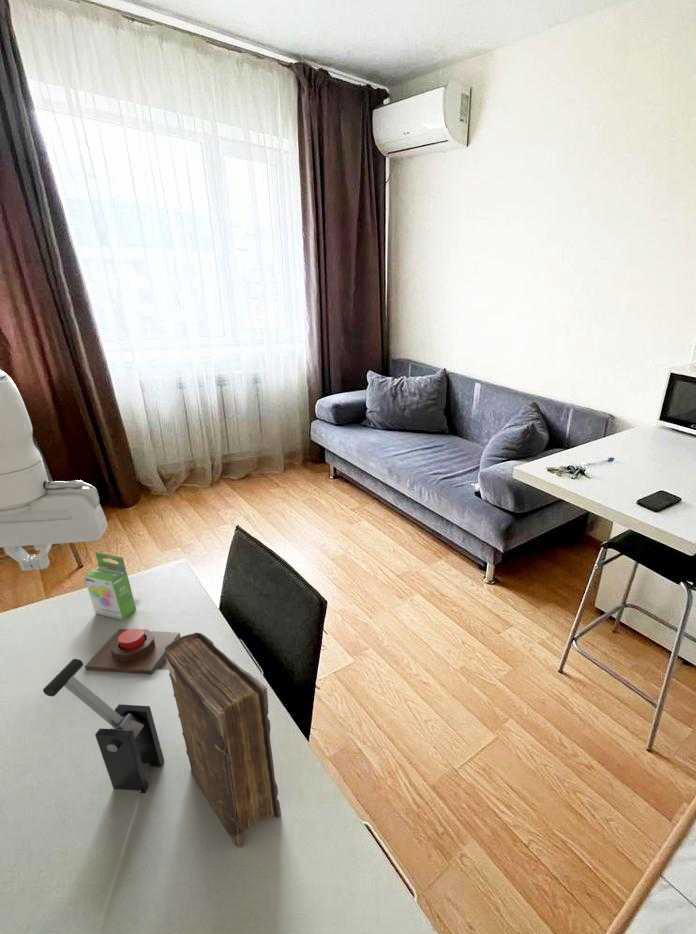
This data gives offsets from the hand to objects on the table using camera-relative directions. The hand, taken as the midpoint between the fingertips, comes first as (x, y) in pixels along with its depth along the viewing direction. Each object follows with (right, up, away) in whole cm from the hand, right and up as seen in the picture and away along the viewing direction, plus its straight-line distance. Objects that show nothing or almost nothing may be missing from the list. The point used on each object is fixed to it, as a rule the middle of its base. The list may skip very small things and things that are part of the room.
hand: (36, 567), depth 73 cm
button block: (+2, -21, +21) cm, 29 cm away
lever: (+13, -18, -7) cm, 23 cm away
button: (+2, -17, +19) cm, 26 cm away
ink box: (-10, -15, +32) cm, 36 cm away
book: (+30, -33, -2) cm, 45 cm away
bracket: (+16, -31, -1) cm, 35 cm away
